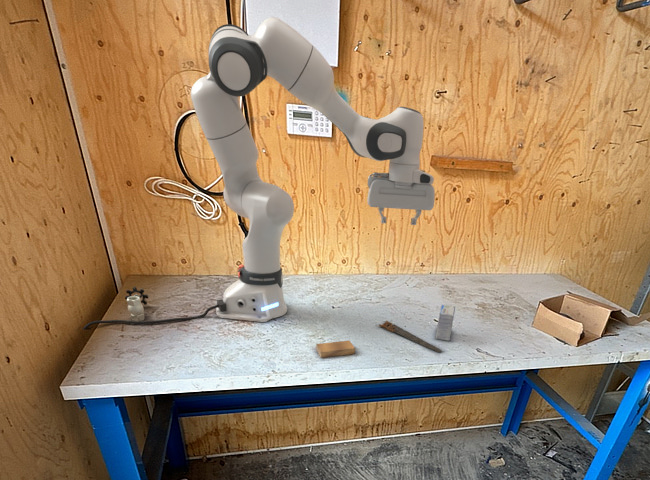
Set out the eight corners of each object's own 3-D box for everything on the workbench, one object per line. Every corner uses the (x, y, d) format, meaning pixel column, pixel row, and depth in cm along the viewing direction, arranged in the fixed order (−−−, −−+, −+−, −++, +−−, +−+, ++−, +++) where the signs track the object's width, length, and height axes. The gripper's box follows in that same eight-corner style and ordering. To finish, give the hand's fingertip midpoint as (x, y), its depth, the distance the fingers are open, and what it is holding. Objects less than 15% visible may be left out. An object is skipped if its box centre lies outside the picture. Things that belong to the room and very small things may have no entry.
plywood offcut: (321, 357, 120) (321, 352, 119) (316, 349, 124) (316, 343, 123) (354, 353, 123) (355, 348, 122) (349, 345, 127) (349, 340, 126)
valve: (150, 320, 131) (150, 305, 140) (145, 300, 127) (146, 285, 136) (125, 322, 128) (127, 307, 137) (120, 301, 125) (122, 287, 134)
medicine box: (449, 341, 135) (454, 315, 130) (435, 339, 135) (439, 313, 130) (450, 331, 141) (455, 306, 136) (437, 328, 142) (441, 303, 137)
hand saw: (446, 348, 131) (447, 346, 130) (438, 353, 128) (438, 351, 127) (386, 321, 143) (386, 320, 143) (377, 325, 140) (377, 323, 140)
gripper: (369, 173, 123) (366, 224, 131) (439, 178, 126) (432, 227, 133) (367, 170, 128) (364, 219, 136) (434, 175, 131) (427, 223, 138)
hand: (398, 223), depth 135 cm, fingers open, 8 cm apart
